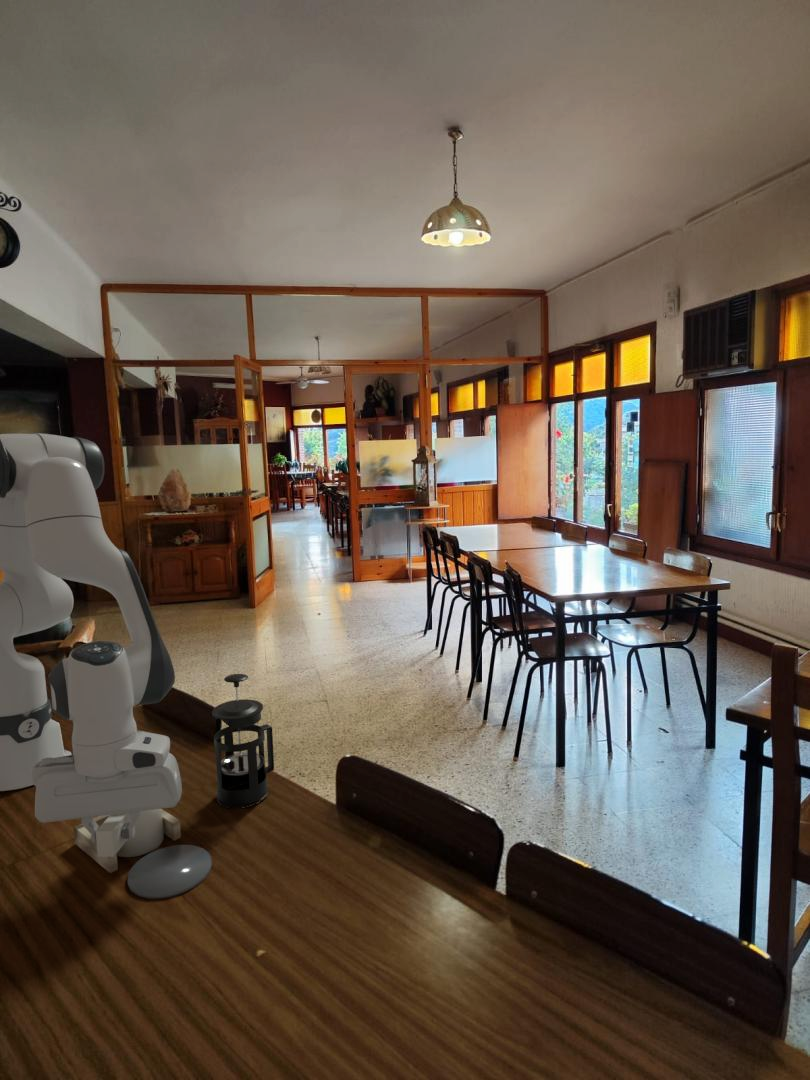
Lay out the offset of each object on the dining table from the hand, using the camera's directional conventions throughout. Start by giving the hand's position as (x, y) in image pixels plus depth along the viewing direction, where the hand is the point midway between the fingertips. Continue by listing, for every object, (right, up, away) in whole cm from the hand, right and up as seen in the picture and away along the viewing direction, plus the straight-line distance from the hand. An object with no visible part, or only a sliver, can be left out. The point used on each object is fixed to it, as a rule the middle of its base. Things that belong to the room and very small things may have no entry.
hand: (114, 838), depth 100 cm
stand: (-1, -4, +8) cm, 10 cm away
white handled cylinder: (0, -5, +5) cm, 7 cm away
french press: (+14, -2, +22) cm, 27 cm away
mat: (+8, -5, 0) cm, 10 cm away
